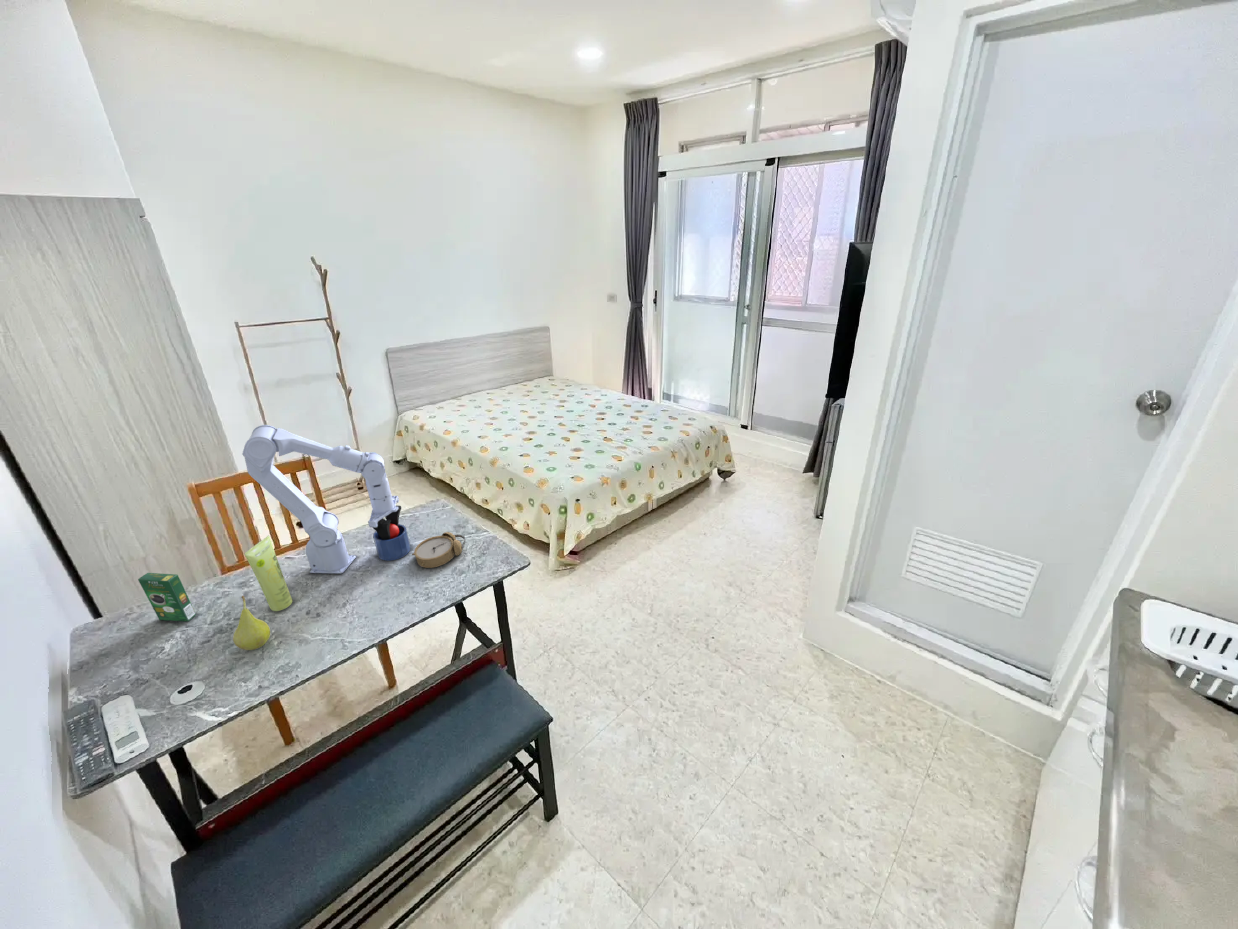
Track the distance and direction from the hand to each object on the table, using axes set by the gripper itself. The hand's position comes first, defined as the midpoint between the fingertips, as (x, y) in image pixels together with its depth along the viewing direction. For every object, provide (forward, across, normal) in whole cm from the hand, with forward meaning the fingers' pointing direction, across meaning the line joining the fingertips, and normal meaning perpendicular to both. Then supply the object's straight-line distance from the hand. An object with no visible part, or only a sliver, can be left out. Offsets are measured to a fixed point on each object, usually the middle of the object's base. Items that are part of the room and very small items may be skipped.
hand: (390, 534), depth 144 cm
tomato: (+2, 0, 0) cm, 2 cm away
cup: (+6, 0, 0) cm, 6 cm away
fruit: (+6, -37, +16) cm, 41 cm away
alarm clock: (+6, -1, -15) cm, 16 cm away
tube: (+6, -24, +19) cm, 31 cm away
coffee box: (+6, -29, +42) cm, 51 cm away
